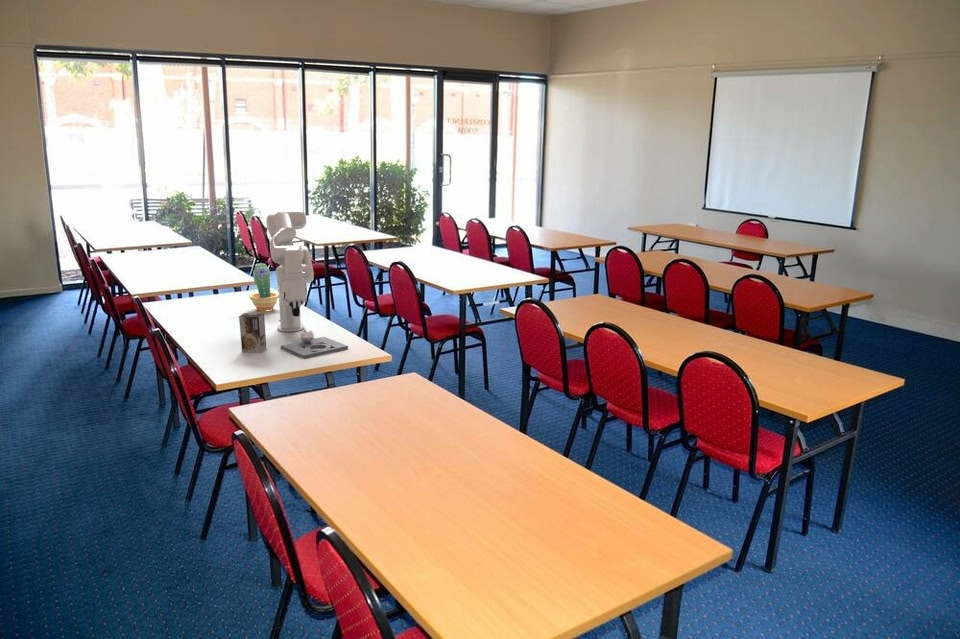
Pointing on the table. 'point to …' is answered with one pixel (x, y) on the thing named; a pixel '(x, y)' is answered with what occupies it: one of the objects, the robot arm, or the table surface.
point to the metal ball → (306, 336)
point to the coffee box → (252, 332)
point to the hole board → (309, 348)
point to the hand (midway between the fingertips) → (296, 316)
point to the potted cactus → (263, 289)
